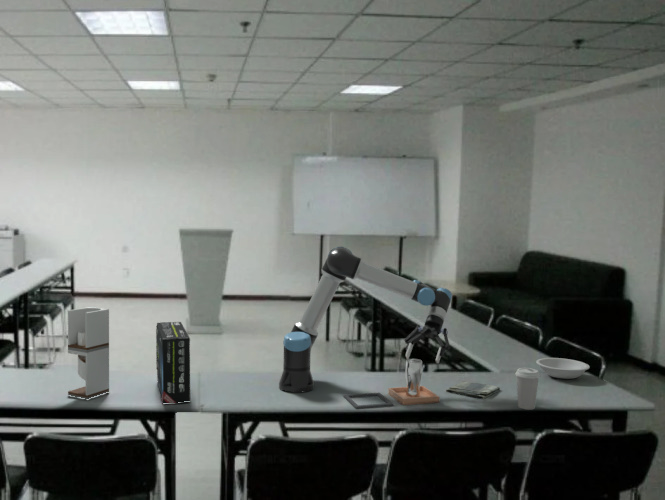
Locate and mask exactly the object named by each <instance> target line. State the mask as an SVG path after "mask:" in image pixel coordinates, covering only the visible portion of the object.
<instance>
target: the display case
mask: <svg viewBox="0 0 665 500" xmlns="http://www.w3.org/2000/svg"><path fill="white" fill-rule="evenodd" d="M67 354H72V355H77V374H78V376H79V377H80V378H81V379H82V380H84V381H85V386H83V387H82V386H81V387H78V388H75V389H71V390H69V391H67V396H68V395H71V396H75V397H81V398H85V399H89V398H91V397H94V396H97V395H100V394H103V393H106V392H109V393H110V309H109V308H101V307H95V306H88V307H82V308H75V309H70V310H67Z"/></svg>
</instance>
